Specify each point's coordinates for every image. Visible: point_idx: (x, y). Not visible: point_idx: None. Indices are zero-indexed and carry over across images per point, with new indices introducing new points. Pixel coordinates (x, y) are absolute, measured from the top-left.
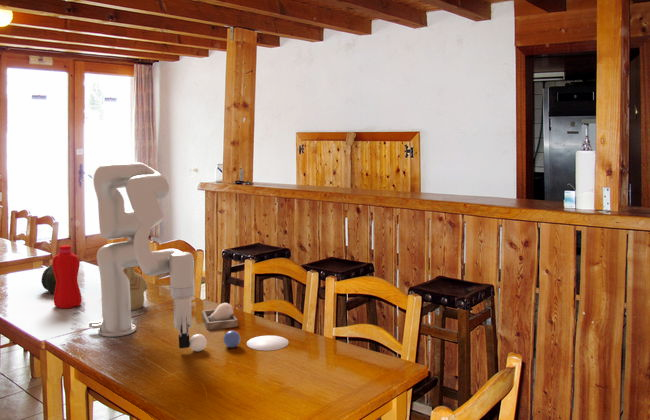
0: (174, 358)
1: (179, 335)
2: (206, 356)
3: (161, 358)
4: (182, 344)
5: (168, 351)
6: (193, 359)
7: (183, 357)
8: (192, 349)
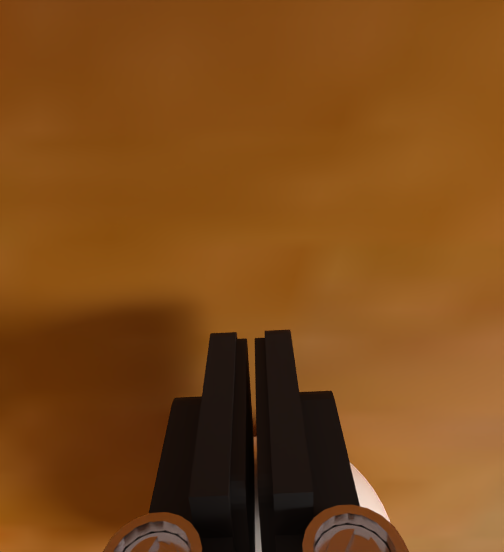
0: (59, 224)
1: (275, 500)
2: (99, 517)
3: (70, 22)
4: (171, 417)
5: (366, 133)
6: (19, 420)
7: (89, 328)
8: None
